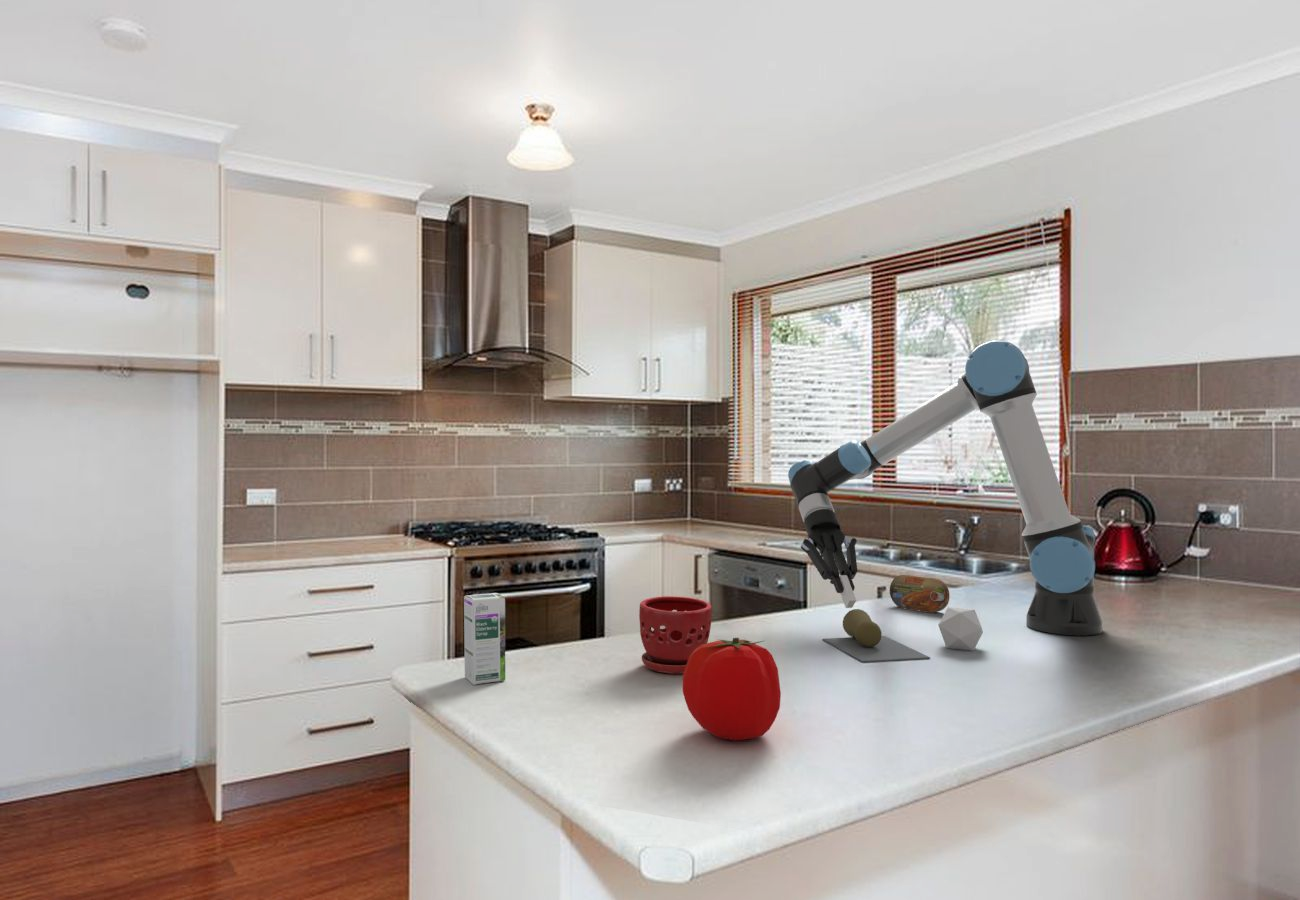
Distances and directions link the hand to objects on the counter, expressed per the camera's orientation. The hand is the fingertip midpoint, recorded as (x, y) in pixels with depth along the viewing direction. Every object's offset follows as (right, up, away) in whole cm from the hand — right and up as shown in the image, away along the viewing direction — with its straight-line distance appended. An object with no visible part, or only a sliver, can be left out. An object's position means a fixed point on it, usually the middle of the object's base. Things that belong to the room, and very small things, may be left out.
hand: (850, 604), depth 177 cm
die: (+20, -7, -8) cm, 23 cm away
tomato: (-31, -8, -58) cm, 66 cm away
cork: (+1, -4, 0) cm, 4 cm away
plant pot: (-38, -7, -24) cm, 46 cm away
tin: (+24, -7, +30) cm, 39 cm away
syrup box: (-71, -7, -32) cm, 78 cm away
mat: (+2, -7, -10) cm, 12 cm away
